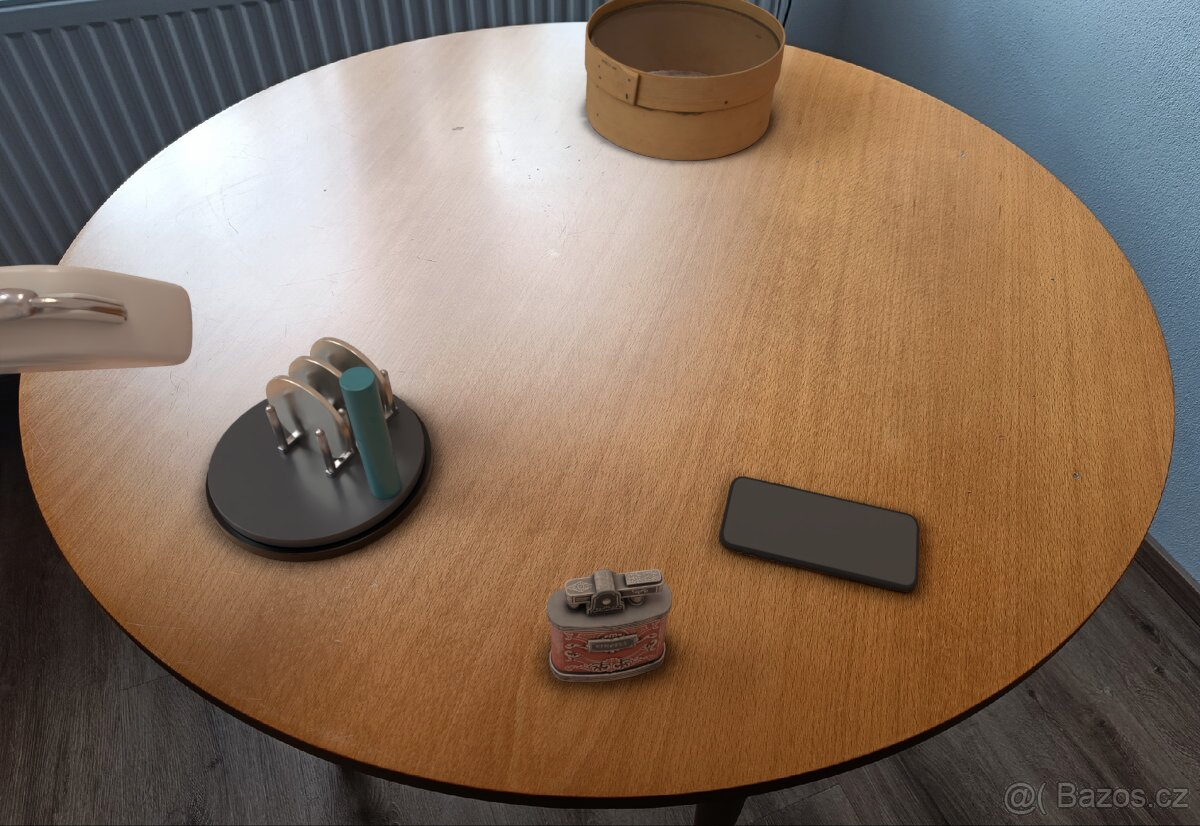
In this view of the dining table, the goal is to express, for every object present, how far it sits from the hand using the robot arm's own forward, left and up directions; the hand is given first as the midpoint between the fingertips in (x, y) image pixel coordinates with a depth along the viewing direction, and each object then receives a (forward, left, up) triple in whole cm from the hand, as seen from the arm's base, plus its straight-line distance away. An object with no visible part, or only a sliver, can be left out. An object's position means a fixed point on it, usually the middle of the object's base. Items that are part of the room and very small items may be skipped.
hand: (77, 345), depth 45 cm
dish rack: (+13, +1, -23) cm, 27 cm away
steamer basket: (+83, +2, -25) cm, 86 cm away
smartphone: (+27, -37, -24) cm, 52 cm away
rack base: (+13, +1, -24) cm, 27 cm away
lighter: (+10, -27, -25) cm, 38 cm away
